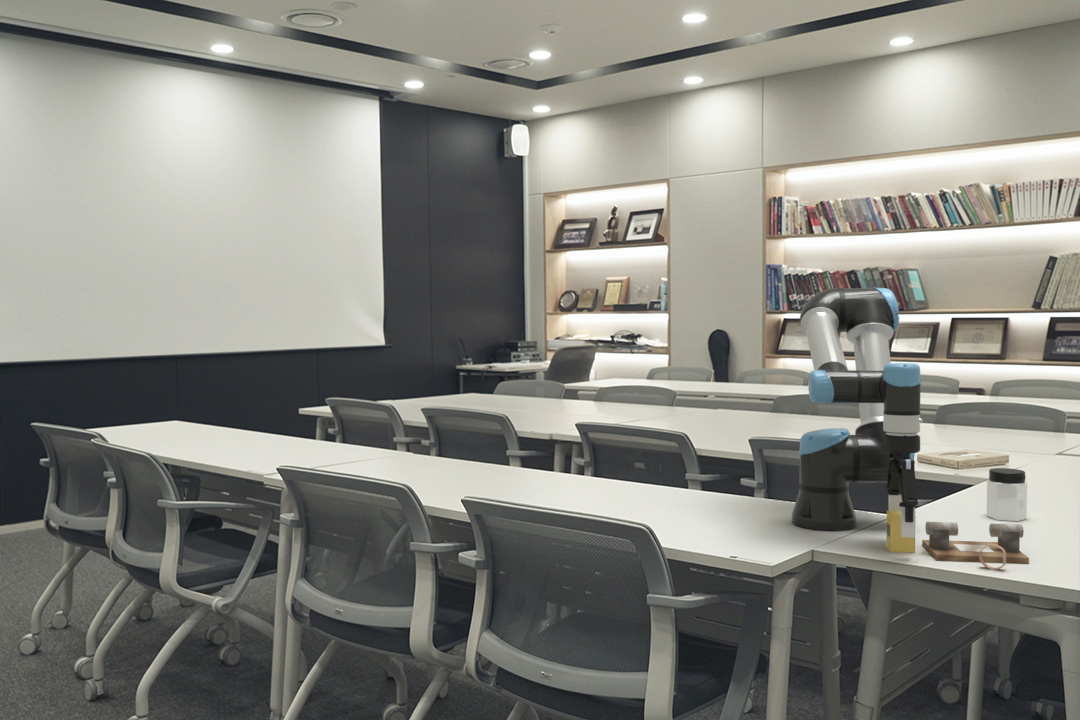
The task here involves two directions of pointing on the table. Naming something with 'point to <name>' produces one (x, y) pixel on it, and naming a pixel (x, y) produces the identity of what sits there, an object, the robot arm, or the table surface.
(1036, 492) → the table surface
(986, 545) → the rose gold watch bracelet
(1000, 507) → the jar
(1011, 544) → the shaft base
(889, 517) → the yellow rectangular block
